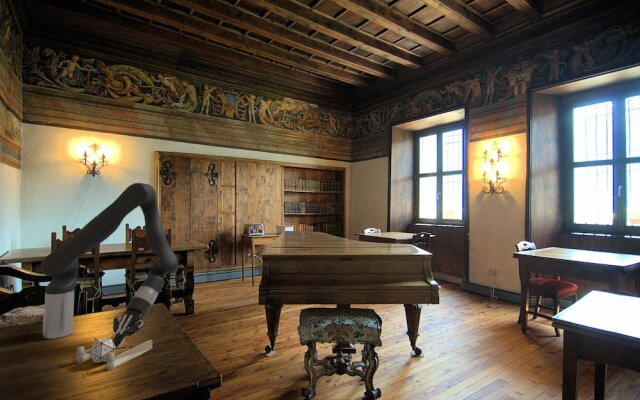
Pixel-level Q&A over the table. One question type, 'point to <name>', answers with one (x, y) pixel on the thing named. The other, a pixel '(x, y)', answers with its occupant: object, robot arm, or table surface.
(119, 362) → the chute
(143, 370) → the table surface
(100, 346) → the game die
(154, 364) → the table surface
